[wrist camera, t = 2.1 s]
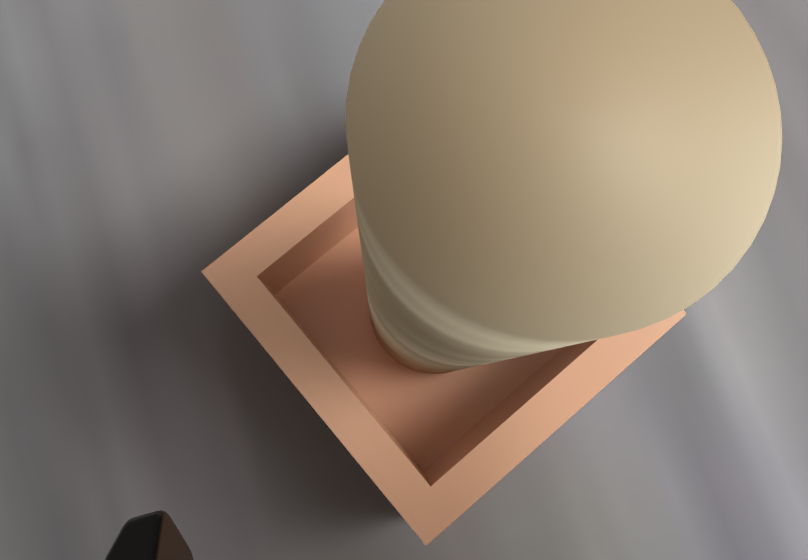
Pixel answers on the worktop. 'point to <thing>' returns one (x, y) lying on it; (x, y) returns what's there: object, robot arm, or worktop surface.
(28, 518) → the worktop surface
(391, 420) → the peach square box
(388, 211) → the dowel
